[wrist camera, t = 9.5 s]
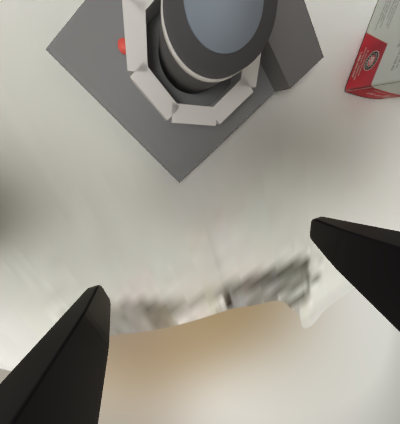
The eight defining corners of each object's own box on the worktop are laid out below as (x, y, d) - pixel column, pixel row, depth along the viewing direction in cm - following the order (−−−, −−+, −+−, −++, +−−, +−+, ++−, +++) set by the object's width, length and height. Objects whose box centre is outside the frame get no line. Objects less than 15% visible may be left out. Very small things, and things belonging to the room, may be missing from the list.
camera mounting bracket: (177, 179, 18) (183, 192, 15) (54, 55, 13) (20, 32, 10) (294, 67, 17) (330, 54, 13) (208, -133, 11) (232, -243, 8)
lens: (226, 88, 15) (280, 64, 9) (167, 100, 14) (180, 84, 8) (217, 6, 13) (281, -105, 6) (148, 17, 12) (144, -94, 6)
